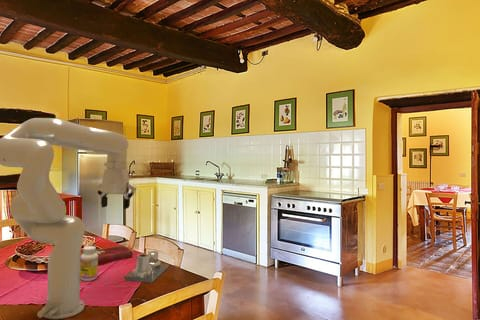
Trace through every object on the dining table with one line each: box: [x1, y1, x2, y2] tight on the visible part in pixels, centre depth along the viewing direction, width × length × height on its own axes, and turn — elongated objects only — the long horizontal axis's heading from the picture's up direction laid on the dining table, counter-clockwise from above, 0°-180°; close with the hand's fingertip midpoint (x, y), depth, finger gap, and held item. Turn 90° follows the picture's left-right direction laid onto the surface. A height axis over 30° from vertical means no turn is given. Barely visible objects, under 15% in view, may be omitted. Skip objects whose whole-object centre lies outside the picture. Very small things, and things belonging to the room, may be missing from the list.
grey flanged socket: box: [132, 253, 152, 278], centre depth 142 cm, size 8×8×8 cm
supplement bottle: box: [80, 245, 99, 282], centre depth 139 cm, size 7×7×13 cm
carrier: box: [124, 250, 170, 284], centre depth 147 cm, size 19×12×8 cm, turn 172°
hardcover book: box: [95, 244, 134, 265], centre depth 165 cm, size 12×21×4 cm, turn 132°
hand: (115, 207), depth 138 cm, fingers open, 9 cm apart
